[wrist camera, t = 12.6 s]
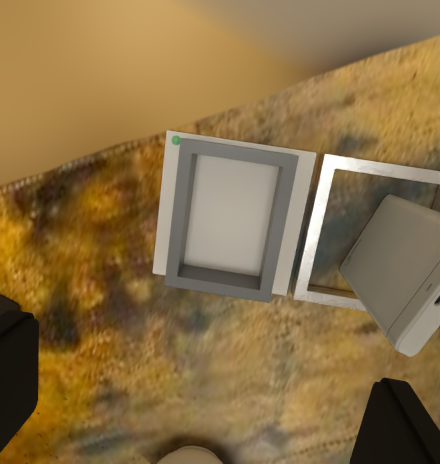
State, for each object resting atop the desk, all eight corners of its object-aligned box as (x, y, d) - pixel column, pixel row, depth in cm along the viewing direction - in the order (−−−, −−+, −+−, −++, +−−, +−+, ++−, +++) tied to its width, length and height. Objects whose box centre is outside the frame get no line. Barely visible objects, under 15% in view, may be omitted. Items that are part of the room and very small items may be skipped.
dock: (314, 152, 30) (324, 154, 26) (285, 291, 33) (289, 310, 29) (169, 130, 30) (157, 129, 26) (155, 269, 33) (143, 286, 30)
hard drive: (336, 270, 32) (389, 347, 20) (387, 192, 30) (480, 225, 18) (352, 278, 32) (413, 359, 20) (404, 200, 30) (507, 240, 18)
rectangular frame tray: (454, 173, 29) (465, 175, 28) (410, 311, 32) (417, 319, 31) (321, 153, 29) (325, 154, 28) (291, 292, 33) (293, 299, 31)
